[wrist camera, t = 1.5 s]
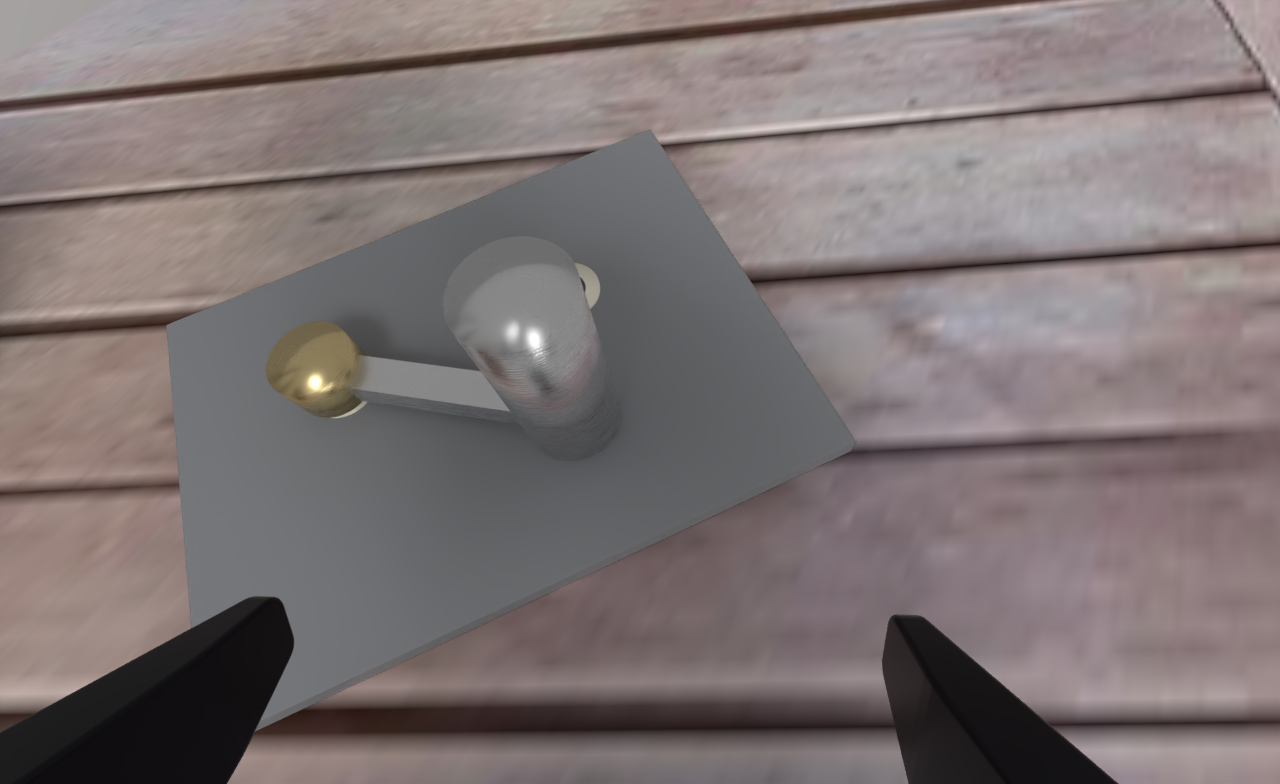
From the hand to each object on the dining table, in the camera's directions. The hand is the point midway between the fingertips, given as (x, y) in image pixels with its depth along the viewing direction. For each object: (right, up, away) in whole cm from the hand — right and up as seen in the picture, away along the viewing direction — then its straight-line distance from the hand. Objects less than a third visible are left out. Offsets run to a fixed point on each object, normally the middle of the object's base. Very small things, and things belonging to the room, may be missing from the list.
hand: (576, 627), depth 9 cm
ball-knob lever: (-6, +3, +15) cm, 16 cm away
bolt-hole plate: (-6, +4, +17) cm, 18 cm away
